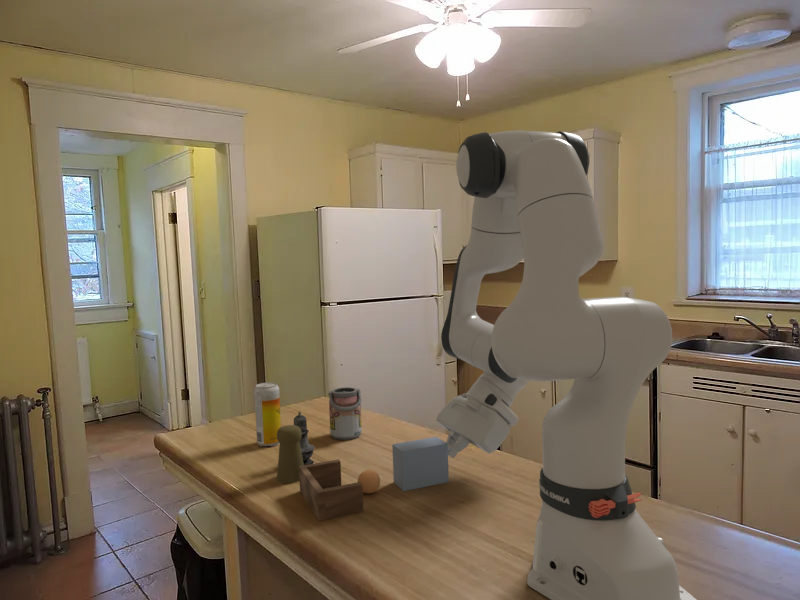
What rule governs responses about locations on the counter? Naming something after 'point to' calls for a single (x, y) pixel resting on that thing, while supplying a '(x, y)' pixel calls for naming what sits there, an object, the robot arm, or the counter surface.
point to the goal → (329, 490)
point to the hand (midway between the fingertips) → (447, 454)
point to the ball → (369, 481)
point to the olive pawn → (289, 454)
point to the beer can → (267, 413)
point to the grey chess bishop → (304, 439)
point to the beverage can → (345, 413)
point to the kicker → (420, 463)
